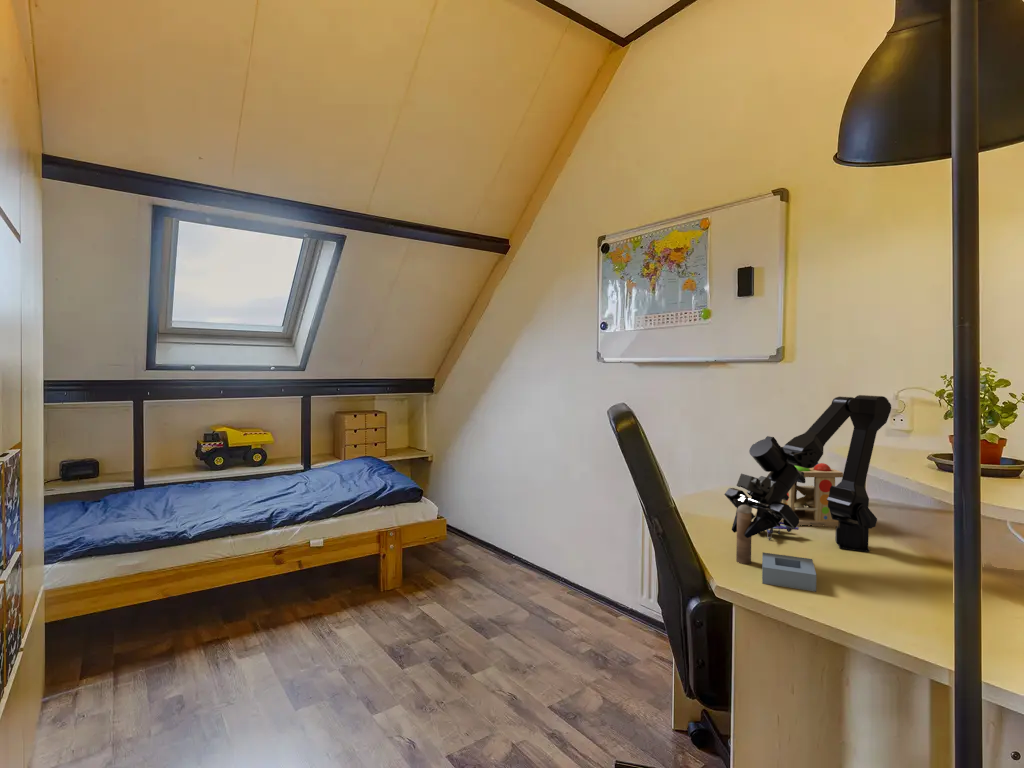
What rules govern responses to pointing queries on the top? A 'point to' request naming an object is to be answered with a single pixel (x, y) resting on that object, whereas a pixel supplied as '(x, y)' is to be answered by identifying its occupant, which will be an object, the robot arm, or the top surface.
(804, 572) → the slotted blue base
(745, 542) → the walnut peg
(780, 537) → the top surface
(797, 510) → the pounding bench toy
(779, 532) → the toy airplane
